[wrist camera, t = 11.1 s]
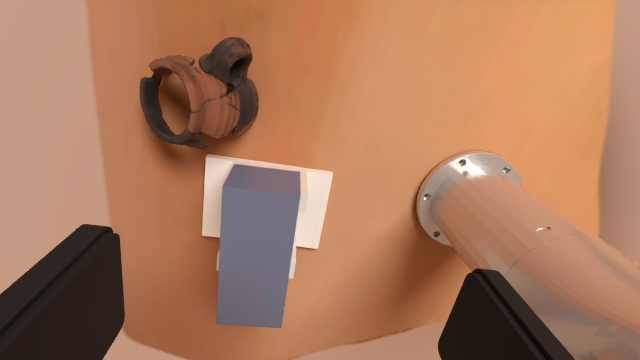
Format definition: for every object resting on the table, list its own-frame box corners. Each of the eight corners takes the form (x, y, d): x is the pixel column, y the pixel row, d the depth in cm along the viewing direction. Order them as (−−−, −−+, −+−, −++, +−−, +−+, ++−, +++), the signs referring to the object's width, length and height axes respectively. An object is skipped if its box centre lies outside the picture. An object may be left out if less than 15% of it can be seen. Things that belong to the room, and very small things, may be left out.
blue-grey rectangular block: (300, 171, 30) (300, 195, 26) (283, 291, 36) (281, 328, 31) (234, 163, 30) (222, 186, 25) (226, 286, 35) (216, 323, 30)
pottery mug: (240, 155, 37) (181, 174, 30) (187, 98, 39) (119, 103, 32) (297, 69, 31) (240, 68, 24) (232, 4, 32) (160, -15, 26)
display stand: (332, 171, 38) (338, 198, 32) (317, 244, 42) (320, 281, 36) (208, 153, 37) (188, 178, 30) (204, 231, 40) (186, 267, 34)
